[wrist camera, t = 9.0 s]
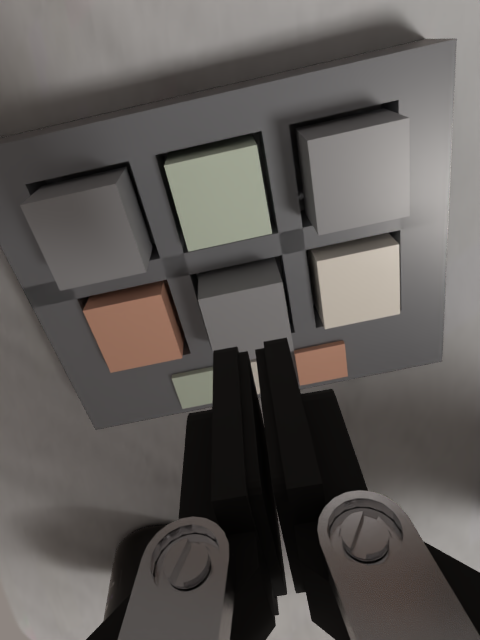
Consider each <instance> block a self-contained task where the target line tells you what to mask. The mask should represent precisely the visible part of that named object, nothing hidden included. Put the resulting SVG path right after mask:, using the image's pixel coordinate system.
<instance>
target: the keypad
mask: <svg viewBox="0 0 480 640" xmlns="http://www.w3.org/2000/svg"><path fill="white" fill-rule="evenodd" d="M456 42H457V39H424V40H419V41H415V42H411V43H406V44H402V45H398V46H393V47H389V48H385V49H381V50H376V51H372V52H368V53H363V54H359V55H355V56H350V57H346V58H342V59H338V60H333V61H329V62H325V63H320V64H316V65H312V66H307V67H303V68H299V69H295V70H290V71H286V72H282V73H277V74H273V75H269V76H264V77H260V78H256V79H252V80H247V81H243V82H239V83H234V84H230V85H226V86H222V87H217V88H213V89H209V90H204V91H200V92H196V93H191V94H187V95H183V96H179V97H174V98H170V99H166V100H161V101H157V102H153V103H148V104H144V105H140V106H136V107H131V108H127V109H123V110H118V111H114V112H110V113H105V114H101V115H97V116H93V117H88V118H84V119H80V120H75V121H71V122H67V123H62V124H58V125H54V126H50V127H45V128H41V129H37V130H32V131H28V132H24V133H19V134H15V135H11V136H7V137H2V138H0V246H1V248H2V250H3V252H4V254H5V256H6V258H7V260H8V262H9V264H10V266H11V268H12V269H13V271H14V273H15V275H16V277H17V279H18V281H19V283H20V285H21V287H22V289H23V291H24V293H25V295H26V296H27V298H28V300H29V302H30V304H31V306H32V308H33V310H34V312H35V314H36V316H37V318H38V320H39V322H40V324H41V325H42V327H43V329H44V331H45V333H46V335H47V337H48V339H49V341H50V343H51V345H52V347H53V349H54V351H55V353H56V354H57V356H58V358H59V360H60V362H61V364H62V366H63V368H64V370H65V372H66V374H67V376H68V378H69V380H70V381H71V383H72V385H73V387H74V389H75V391H76V393H77V395H78V397H79V399H80V401H81V403H82V405H83V407H84V409H85V410H86V412H87V414H88V416H89V418H90V420H91V422H92V424H93V426H94V428H95V430H97V429H102V428H107V427H112V426H117V425H123V424H128V423H133V422H138V421H143V420H148V419H153V418H158V417H163V416H168V415H173V414H178V413H183V412H188V411H193V410H198V409H203V408H209V407H212V401H213V351H214V350H220V349H225V348H231V347H238V350H239V352H245V351H248V354H249V358H250V363H251V368H252V372H253V377H254V381H255V386H256V391H257V395H258V398H259V397H261V394H260V386H259V378H258V370H257V362H256V354H255V350H256V349H261V348H264V343H263V342H264V341H270V340H275V339H281V338H286V337H287V340H288V344H289V348H290V352H291V356H292V360H293V365H294V369H295V373H296V377H297V381H298V385H299V389H305V388H310V387H315V386H320V385H325V384H330V383H335V382H340V381H345V380H350V379H355V378H360V377H365V376H370V375H376V374H381V373H386V372H391V371H396V370H401V369H406V368H411V367H416V366H421V365H426V364H431V363H436V362H441V361H442V352H443V330H444V308H445V286H446V263H447V241H448V219H449V197H450V175H451V153H452V131H453V108H454V86H455V64H456ZM250 133H251V134H252V136H253V138H254V140H255V142H256V144H257V148H258V154H259V160H260V166H261V171H262V177H263V183H264V189H265V195H266V200H267V206H268V212H269V218H270V224H271V229H272V234H268V235H264V236H259V237H254V238H250V239H245V240H240V241H236V242H231V243H226V244H222V245H217V246H212V247H208V248H203V249H199V250H194V251H189V252H188V249H187V245H186V242H185V238H184V235H183V231H182V228H181V224H180V220H179V217H178V213H177V210H176V206H175V203H174V199H173V196H172V192H171V189H170V185H169V182H168V178H167V175H166V171H165V167H164V164H165V161H166V158H167V155H168V152H171V151H175V150H180V149H184V148H188V147H193V146H197V145H202V144H206V143H210V142H215V141H219V140H224V139H228V138H233V137H237V136H241V135H246V134H250ZM384 233H389V234H390V235H391V236H392V237H393V238H394V239H395V240H396V241H397V243H398V244H399V269H400V314H398V315H393V316H388V317H383V318H378V319H373V320H368V321H363V322H358V323H353V324H349V325H344V326H339V327H334V328H329V329H325V328H324V326H323V323H322V321H321V319H320V316H319V314H318V311H317V309H316V307H315V304H314V301H313V293H312V286H311V278H310V271H309V263H308V255H307V250H308V249H313V248H318V247H323V246H327V245H332V244H337V243H341V242H346V241H351V240H356V239H360V238H365V237H370V236H374V235H379V234H384ZM163 280H167V281H168V284H169V287H170V290H171V294H172V297H173V300H174V303H175V306H176V309H177V312H178V315H179V318H180V322H181V325H182V328H183V331H184V343H183V357H182V358H181V359H176V360H171V361H166V362H162V363H157V364H152V365H147V366H142V367H137V368H132V369H127V370H122V371H117V372H112V373H110V370H109V368H108V366H107V364H106V361H105V359H104V357H103V355H102V353H101V350H100V348H99V346H98V344H97V341H96V339H95V337H94V335H93V333H92V330H91V328H90V326H89V324H88V321H87V319H86V317H85V315H84V313H83V309H84V307H85V305H86V303H87V300H88V298H89V296H92V295H97V294H102V293H106V292H111V291H116V290H120V289H125V288H130V287H135V286H139V285H144V284H149V283H153V282H158V281H163Z"/></svg>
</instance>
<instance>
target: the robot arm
mask: <svg viewBox="0 0 480 640" xmlns="http://www.w3.org/2000/svg"><path fill="white" fill-rule="evenodd" d="M263 343H264V348H261V349H256V350H255V354H256V362H257V370H258V378H259V386H260V394H261V402H262V410H263V418H264V423H263V418H262V414H261V409H260V404H259V400H258V395H257V391H256V386H255V381H254V377H253V372H252V368H251V363H250V358H249V354H248V351H245V352H239V350H238V347H231V348H225V349H220V350H214V351H213V401H212V410H207V411H201V412H195V413H190V414H189V415H188V418H187V426H186V438H185V450H184V462H183V474H182V486H181V498H180V510H179V520H176V521H174V522H172V523H170V524H168V525H166V526H165V527H164V528H163V529H161V530H160V531H159V532H157V533H156V535H155V536H154V537H153V538H152V540H151V541H150V542H149V543H148V545H147V547H146V549H145V552H144V554H143V556H142V559H141V562H140V566H139V569H138V572H137V576H136V579H135V582H134V586H133V589H132V593H131V594H130V595H129V596H128V597H127V598H126V599H125V600H124V601H123V602H122V603H121V604H120V605H119V606H118V607H117V608H116V609H115V610H114V611H113V612H112V613H111V614H110V616H109V617H108V618H107V619H106V620H105V621H104V622H103V623H102V624H101V625H100V626H99V627H98V628H97V629H96V630H95V631H94V632H93V633H92V634H91V635H90V636H89V637H88V638H87V639H86V640H266V639H267V637H268V636H269V634H270V633H271V632H272V630H273V629H274V627H275V626H276V624H275V615H279V611H278V602H277V596H281V595H287V588H286V580H285V572H284V564H283V556H282V549H281V541H280V533H279V525H278V518H277V512H278V516H279V521H280V525H281V530H282V534H283V538H284V543H285V547H286V552H287V556H288V560H289V565H290V569H291V574H292V578H293V582H294V587H295V591H296V593H301V592H306V595H307V600H308V605H309V610H310V615H311V619H312V621H313V622H314V623H315V624H317V625H318V626H319V627H320V628H322V629H323V630H324V631H325V632H327V633H328V634H329V635H330V636H332V637H333V638H334V639H335V640H480V573H479V572H478V571H476V570H474V569H472V568H470V567H469V566H467V565H465V564H463V563H461V562H460V561H458V560H456V559H454V558H452V557H451V556H449V555H447V554H445V553H443V552H442V551H440V550H438V549H436V548H434V547H433V546H431V545H429V544H427V543H425V542H424V541H423V540H422V538H421V537H420V535H419V533H418V532H417V530H416V528H415V527H414V525H413V523H412V522H411V520H410V518H409V517H408V515H407V514H406V513H405V512H404V510H403V509H402V508H401V507H400V506H399V505H398V504H397V503H395V502H394V501H393V500H391V499H390V498H388V497H387V496H384V495H381V494H379V493H376V492H372V491H368V490H367V487H366V484H365V481H364V478H363V475H362V472H361V469H360V466H359V463H358V460H357V457H356V455H355V452H354V449H353V446H352V443H351V440H350V437H349V434H348V431H347V428H346V425H345V422H344V420H343V417H342V414H341V411H340V408H339V405H338V402H337V399H336V396H335V394H334V391H333V390H332V389H329V390H323V391H317V392H311V393H305V394H301V393H300V389H299V385H298V381H297V377H296V373H295V369H294V365H293V360H292V356H291V352H290V348H289V344H288V340H287V337H286V338H281V339H275V340H270V341H264V342H263ZM264 426H265V427H264ZM276 508H277V510H276Z"/></svg>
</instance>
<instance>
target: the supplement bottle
mask: <svg viewBox="0 0 480 640" xmlns="http://www.w3.org/2000/svg"><path fill="white" fill-rule="evenodd" d="M165 526H166V525H155V526H149V527H145V528H141V529H139V530H136V531H134V532H132V533H131V534H129V535H128V536H127V537H125V538H124V539H123V540H122V541H121V543H120V544H119V546H118V548H117V550H116V553H115V558H114V563H113V568H112V574H111V580H110V585H109V591H108V597H107V603H106V609H105V615H104V621H105V620H106V619H107V618H108V617H109V616H110V614H111V613H112V612H113V611H114V610H115V609H116V608H117V607H118V606H119V605H120V604H121V603H122V602H123V601H124V600H125V599H126V598H127V597H128V596H129V595H130V594H131V593H132V589H133V586H134V582H135V579H136V576H137V572H138V569H139V566H140V562H141V559H142V556H143V554H144V552H145V549H146V547H147V545H148V543H149V542H150V541H151V540H152V538H153V537H154V536H155V535H156V533H157V532H159V531H160V530H161V529H163V528H164V527H165ZM104 621H103V622H104Z"/></svg>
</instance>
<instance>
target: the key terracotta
mask: <svg viewBox="0 0 480 640" xmlns="http://www.w3.org/2000/svg"><path fill="white" fill-rule="evenodd" d="M83 313H84V315H85V317H86V319H87V321H88V324H89V326H90V328H91V330H92V333H93V335H94V337H95V339H96V341H97V344H98V346H99V348H100V350H101V353H102V355H103V357H104V359H105V361H106V364H107V366H108V368H109V370H110V373H112V372H117V371H122V370H127V369H132V368H137V367H142V366H147V365H152V364H157V363H162V362H166V361H171V360H176V359H181V358H182V357H183V343H184V331H183V328H182V325H181V322H180V318H179V315H178V312H177V309H176V306H175V303H174V300H173V297H172V294H171V290H170V287H169V284H168V281H167V280H163V281H158V282H153V283H149V284H144V285H139V286H135V287H130V288H125V289H120V290H116V291H111V292H106V293H102V294H97V295H92V296H89V298H88V300H87V303H86V305H85V307H84V309H83Z"/></svg>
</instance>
